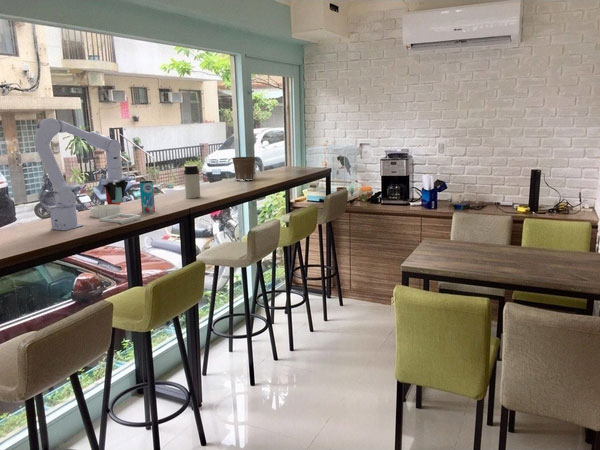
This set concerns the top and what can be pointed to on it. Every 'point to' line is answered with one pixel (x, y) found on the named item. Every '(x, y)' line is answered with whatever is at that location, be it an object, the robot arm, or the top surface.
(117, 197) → the peg
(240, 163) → the plant pot
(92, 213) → the bowl
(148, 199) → the beverage can
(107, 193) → the paper cup
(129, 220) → the tray
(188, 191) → the travel mug
